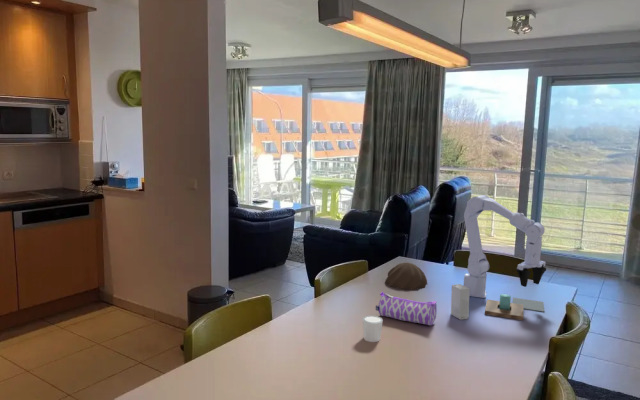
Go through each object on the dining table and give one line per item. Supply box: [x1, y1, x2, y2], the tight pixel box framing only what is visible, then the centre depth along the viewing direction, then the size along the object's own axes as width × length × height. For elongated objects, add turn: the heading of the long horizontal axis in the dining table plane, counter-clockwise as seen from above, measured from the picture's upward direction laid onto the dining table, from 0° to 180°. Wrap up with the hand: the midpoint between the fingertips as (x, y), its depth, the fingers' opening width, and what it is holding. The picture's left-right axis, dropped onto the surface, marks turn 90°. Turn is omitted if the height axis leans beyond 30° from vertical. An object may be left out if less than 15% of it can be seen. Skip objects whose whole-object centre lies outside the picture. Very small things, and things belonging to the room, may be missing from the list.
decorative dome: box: [384, 262, 428, 291], centre depth 223 cm, size 19×20×10 cm
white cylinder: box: [362, 315, 384, 343], centre depth 161 cm, size 7×7×7 cm
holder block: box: [484, 299, 524, 321], centre depth 190 cm, size 14×14×2 cm
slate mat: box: [512, 297, 546, 313], centre depth 197 cm, size 12×12×1 cm
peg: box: [498, 293, 512, 311], centre depth 190 cm, size 4×4×6 cm
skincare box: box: [450, 283, 470, 321], centre depth 182 cm, size 6×4×12 cm
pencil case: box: [375, 291, 437, 326], centre depth 179 cm, size 22×9×10 cm, turn 63°
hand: (529, 284), depth 193 cm, fingers open, 7 cm apart
